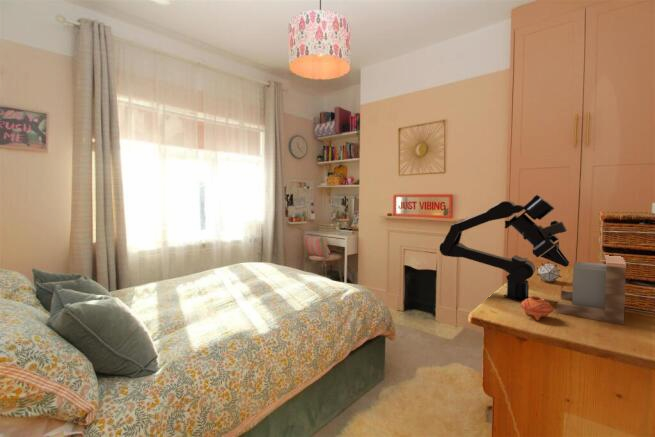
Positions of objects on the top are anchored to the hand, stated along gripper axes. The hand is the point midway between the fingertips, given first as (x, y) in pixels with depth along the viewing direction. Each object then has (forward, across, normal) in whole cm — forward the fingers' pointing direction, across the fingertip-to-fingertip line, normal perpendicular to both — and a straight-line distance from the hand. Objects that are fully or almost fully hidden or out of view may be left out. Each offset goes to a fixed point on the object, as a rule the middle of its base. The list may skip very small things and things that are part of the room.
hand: (567, 264), depth 102 cm
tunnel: (+14, 0, +6) cm, 15 cm away
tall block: (+14, 0, +5) cm, 15 cm away
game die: (+4, +31, +15) cm, 35 cm away
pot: (+5, -17, +14) cm, 23 cm away
